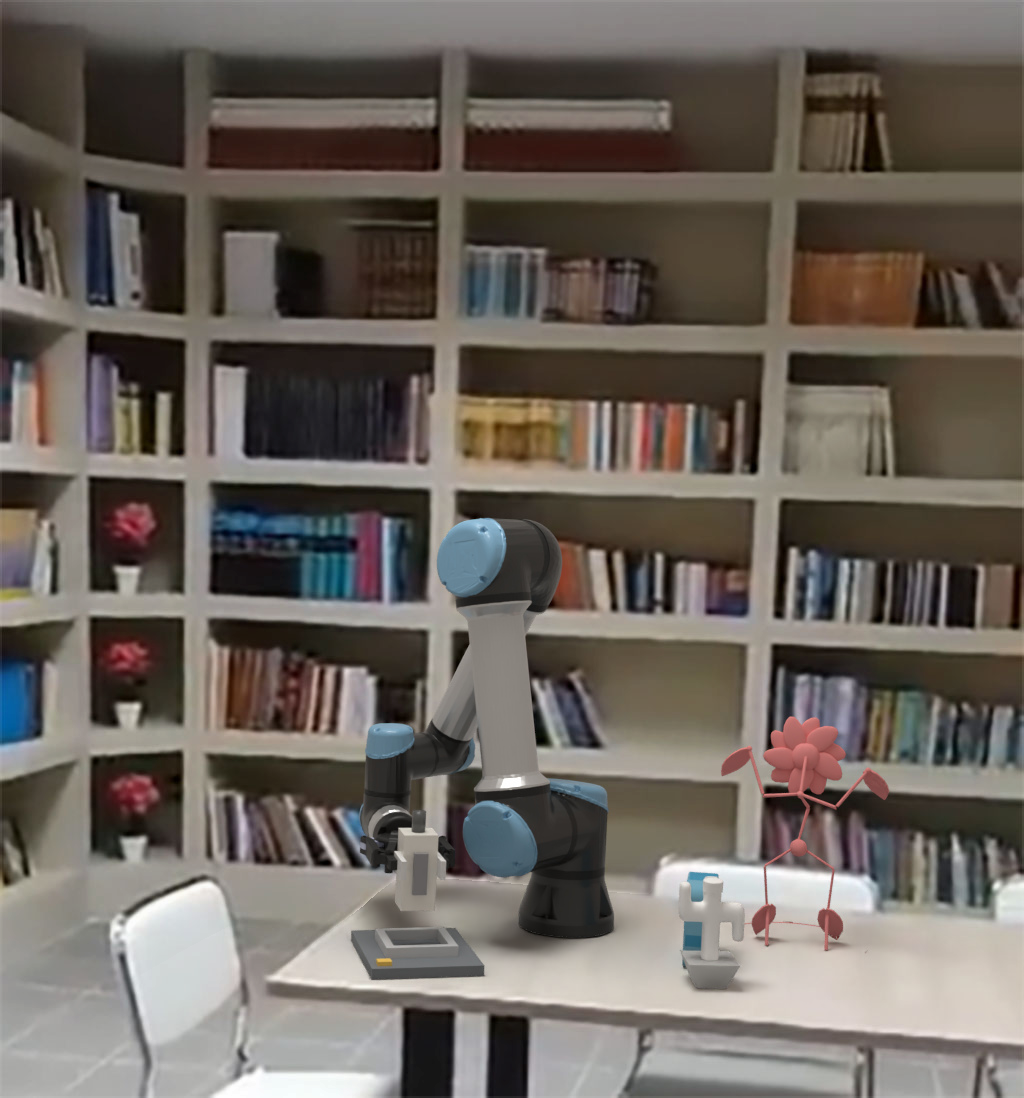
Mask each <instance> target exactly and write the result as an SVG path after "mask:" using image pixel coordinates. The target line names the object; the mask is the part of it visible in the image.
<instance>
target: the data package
mask: <svg viewBox="0 0 1024 1098" xmlns="http://www.w3.org/2000/svg"><path fill="white" fill-rule="evenodd" d="M707 876H714V877H718V879H720V878H719V876H720V875H719V874H718V873H715V872H714V873H713V872H700V871H699V872H698V871H689V872H688V875H687V879H686V882H689V883H690V885H691V901H692V902H701V901H703V880H704V878H705V877H707ZM682 937H683V940H682V950H685V951H701V941H702V922H687V921H683V936H682ZM681 965H682V966H683V967H685V968H686V965H685V963H684V960H683V958H682V964H681Z"/></svg>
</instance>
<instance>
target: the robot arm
mask: <svg viewBox="0 0 1024 1098" xmlns="http://www.w3.org/2000/svg"><path fill="white" fill-rule="evenodd" d="M436 556H437V557H436V570H437V575H438V578H439V580H440V583H441V584H442V585H443V586H444V587H445V589H446V591H448V592H449V593H450V594H452V595H454V599H455V600H454V601H455V608H456V612H458V613H459V614H460V615H461V616H463V618H465V620H466V621H467V631H468V638H469V639H468V640H469V645H468V647H467V648H466V650H465V652H464V655H463V656H462V658H461V660H460V662H459V664H458V666H457V668H456V671H455V672H454V674H453V676H452V678H451V680H450V682H449V684H448V686H447V688H446V690H445V692H444V694H443V696H442V698H441V700H440V701H439V704H438V706H437V707H436V710H435V712H434V714H433V716H432V718H431V720H430V722H429V723H428V725H427V728H426V730H424V731H422V732H415V733H414V729H413V727H411V726H410V725H408V724H403V723H397V722H396V723H394V722H393V723H392V722H391V723H380V722H379V723H376V724H373V725H371V726H370V727H369V728H368V730H367V736H366V737H367V738H366V746H365V749H364V753H365V767H364V770H365V771H364V792H363V801H362V804H361V806H360V810H359V814H358V815H359V817H358V819H359V825H360V827H361V830H362V831H363V834H364V835H361V836H360V837H359V838H360V841H359V842H360V843H359V845H360V846H359V853H360V854H362V855H364V856H365V857H366V858H367V860H368V862H369V864H370V866H371V867H373V868H375V869H376V868H380V867H381V865H384V873H385V874H393V873H395V875H396V874H397V876H398V877H399V879H400V880H401V881H403V880H406V872H407V861H406V860H405V858H404V857H403V856H402V854H401V853H400V852H399V851H397V849H398V828H412V814H411V813H410V808H411V807H410V806H411V804H410V803H411V794H412V793H411V792H412V781H413V780H415V781H416V780H420V779H421V780H422V779H425V778H431V777H438V776H449V775H453V774H456V773H457V772H462V771H464V770H466V769H468V768H469V767H470V766H471V764H472V763H473V761H474V760H475V757H476V754H475V752H476V751H475V750H476V743H475V740H474V735H475V733H476V731H477V730H478V733H477V734H478V741H479V742H478V743H479V751H480V762H481V763H480V764H481V770H482V771H481V772H482V775H481V779H480V780H479V781H478V783H477V784H476V785H475V786H474V788H473V792H474V794H473V795H474V802H475V803H474V804H475V805H474V806H472V807H471V808H470V809H469V810H468V812H467V816H466V817H464V820H463V825H462V838H463V843H464V846H465V849H466V851H467V853H468V855H469V857H470V859H471V860H472V862H473V863H474V864H476V865H477V866H479V868H480V870H482V872H484V873H486V874H487V875H489V876H492V877H496V878H509V877H522V876H524V875H527V874H529V873H531V874H530V879H529V881H528V883H527V887H526V890H525V892H524V895H523V898H522V901H521V903H520V906H519V910H518V921H517V923H518V925H519V927H520V928H522V929H523V930H526V931H528V932H530V933H534V934H537V935H543V936H548V937H549V936H550V937H555V938H556V937H557V938H573V939H575V938H592V937H599V936H602V935H605V934H608V933H610V932H612V931H613V930H614V926H615V924H614V923H615V913H614V909H613V905H612V902H611V898H610V895H609V891H608V888H607V887H608V886H607V883H606V879H605V878H606V877H605V876H606V873H605V872H606V857H607V856H606V853H607V852H606V850H607V835H608V834H607V831H608V830H607V829H608V814H609V806H608V804H609V803H608V792H607V790H606V788H604V787H603V786H602V785H599V784H595V783H590V782H584V781H578V780H571V779H563V778H562V779H561V778H560V779H559V778H548V777H546V776H545V775H544V774H543V773H542V772H541V771H540V770H539V762H538V751H537V750H538V749H537V739H536V733H535V732H536V731H535V723H534V711H533V701H532V693H531V683H530V680H531V679H530V672H529V661H528V651H527V643H526V642H527V641H526V636H527V634H528V632H529V630H530V628H531V626H532V625H533V622H534V620H535V618H536V617H537V616H538V615H541V614H542V615H543V614H545V613H546V611H547V609H548V607H549V606H550V603H551V601H552V600H553V598H554V596H555V593H556V591H557V588H558V586H559V583H560V580H561V575H562V571H563V569H562V568H563V555H562V550H561V547H560V544H559V542H558V540H557V538H556V537H555V535H554V534H553V533H552V532H551V530H550V529H548V528H547V527H546V526H544V525H543V524H542V523H539V522H537V521H535V520H531V519H524V518H522V519H521V518H520V519H511V518H510V519H508V518H507V519H505V518H490V517H484V518H481V517H480V518H476V519H467V520H465V521H461V522H459V523H457V524H456V525H455V524H454V526H453V527H452V528H450V530H449V531H448V532H447V533H446V536H444V537H443V539H442V541H441V543H440V545H439V548H438V551H437V555H436ZM455 862H456V849H455V848H454V847H453V846H452V845H451V844H450V843H449V842H448V837H447V836H445V835H440V836H438V857H437V879H439V880H440V881H446V877H447V876H446V875H447V872H446V871H448V870H449V868H455V865H456V863H455Z"/></svg>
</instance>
